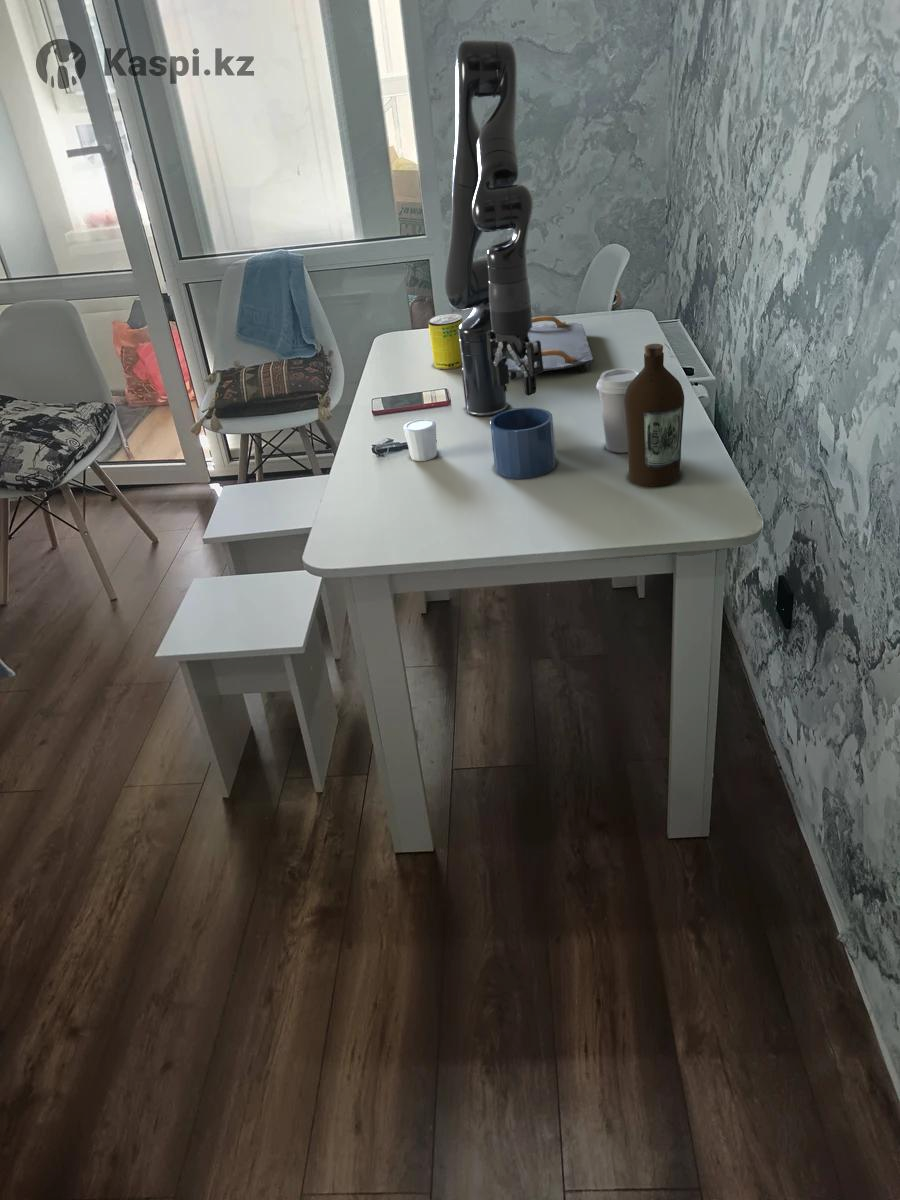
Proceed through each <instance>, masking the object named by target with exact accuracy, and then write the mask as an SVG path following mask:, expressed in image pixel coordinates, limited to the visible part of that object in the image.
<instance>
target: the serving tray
mask: <svg viewBox="0 0 900 1200" xmlns="http://www.w3.org/2000/svg"><path fill="white" fill-rule="evenodd" d="M539 322H553V323H548V324H547V323H546V324H545V323H544V324H538V325H532V328H531V329H530V330H529V332H528V337H529V340H530V341H532V342H534V341H537V340H539V341H540V343H541V352H542V362H543V372H547V371H556V370H565V369H569V368H574V367H578V366H579V369H580V370H581V372H582V373H585V372H588V370H589V368H590V366H589V364H590V363H593V362H594V357H593V353H592V349H591V347H590V343H589V341H588V336H587V335H586V332H585V329H584V325H583V324H582V323H578V322H571V323H569V322H566V321H561V320H560V319H559V318H557V317H555V316H553V315H539V316H533V317H532V324H533V323H534V324H535V323H539ZM524 359H527V356H526V355H525V357H524ZM524 359H521V360H524ZM505 364H506V365H508V375H509V381H510V380H512V381H513V380H515V379H516V378H517V373H523V372H522V370H521V368H520V367H518V366H517V365H516V363H515V361H513V360H511V359H508V361H507V363H505ZM534 364H535V366H536V367H537V361H536V362H535V363H534ZM526 367H527V370H528V369H529V367H528V364H526Z"/></svg>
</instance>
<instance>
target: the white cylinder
mask: <svg viewBox="0 0 900 1200" xmlns="http://www.w3.org/2000/svg"><path fill="white" fill-rule="evenodd" d="M403 432H404V436H405V440H406V445H407V448H408V451H409V455H410V459H411V460H413V461H415V462H426V461H429V460H432V459H435V457H437V455H438V446H437V445H438V444H437V423H436V422H435V420H433V419H429V418H421V419H415V420H411V421H409V422H406V423H405V424H404V425H403Z"/></svg>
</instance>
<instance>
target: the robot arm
mask: <svg viewBox="0 0 900 1200" xmlns="http://www.w3.org/2000/svg"><path fill="white" fill-rule="evenodd" d="M454 67H455V69H454V70H455V74H454V75H455V76H454V77H455V79H454V80H455V81H454V82H455V83H454V84H455V87H454V88H455V90H454V91H455V140H454V157H453V158H454V159H453V170H452V185H451V186H452V187H451V189H452V190H451V221H450V222H451V224H450V237H449V246H448V254H447V261H446V267H445V268H446V269H445V277H444V278H445V279H444V286H445V294H446V298H447V301H448V303H449V305H450V306H451V307H452V308H453V309H454V310H456V311H465V310H469V309H472V311H471V313H470V314H469V315H468V316H467V317H466V318H465V319H464V320H462V323H461V324H460V326H459V329H458V331H459V340H460V348H461V356H462V364H463V366H462V369H461V377H462V378H461V379H462V387H463V394H464V404H465V408H466V409H467V411H466V412H467V413H468V414H470V415H473V416H477V417H488V416H495V415H497V414H499V413H501V412H504V411H506V410H507V408H508V402H507V393H508V389H507V385H508V384H509V383H510V378H509V375H508V373H509V372H508V365H506V364H505V363H507V361H508V359H511V360H513V361H515V363H516V365H517V366H518V367H520V368H521V370H522V372H521V373H522V374H523V386H524V387H523V390H524V395H525V396H528V397H529V396H532V395H535V394H537V393H536V392H537V375H538V374H541V373H542V374H543V372H544V371H543V362H542V352H541V343H540V341H539V340H537V341H534V342H532V341H530V340H529V337H528V332H529V330H530V329H531V328H532V326H533V323H532V318H533V317H532V301H531V300H532V299H531V289H530V284H529V278H528V261H527V245H528V236H529V230H530V225H531V221H532V218H533V210H534V197H533V195H532V192H531V191H530V189H529V188H528V187H527V186H525V185H524V184H516V182H517V181H518V179H519V175H520V174H519V173H520V169H519V158H518V150H517V141H516V140H517V137H516V125H517V124H516V123H517V106H518V105H517V102H518V62H517V54H516V50H515V48H514V45H513V44H512V43H510V42H509V41H504V40H484V39H483V40H481V39H480V40H479V39H477V40H474V39H473V40H468V39H467V40H463V41H461V42H460V43H459V44H458V47H457V50H456V55H455V66H454ZM474 99H499V100H498V103H497V105H496V107H495V108H494V110H493V112H492V113H491V115H490V116H489V118H488V119H487V120H486V122H485V123H484V125H483V126H482V128H481V129H480V127H479V124H478V122H477V119H476V116H475V112H474V110H473V109H474V108H473V100H474ZM510 230H513V233H512V234H511V237H510V238H508V239H506V240H504V241H502V242H499V243H497V244H493V245H492V246H491V247H489V248H488V250H487V252H486V258H480V259H476V260H474V256H475V252H476V249H477V247H478V243H479V241H480V240H481V238H482V235H483V234H484V233H493V232H502V231H510ZM525 355H526V356H527V359H524V357H525ZM521 359H524V360H521ZM536 361H537V367H536V366H535V364H534V363H535V362H536ZM526 364H528V367H529V369H528V370H527V367H526Z"/></svg>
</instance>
